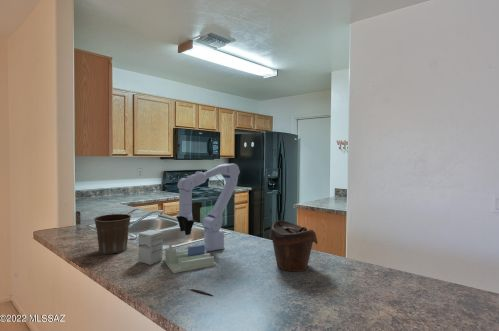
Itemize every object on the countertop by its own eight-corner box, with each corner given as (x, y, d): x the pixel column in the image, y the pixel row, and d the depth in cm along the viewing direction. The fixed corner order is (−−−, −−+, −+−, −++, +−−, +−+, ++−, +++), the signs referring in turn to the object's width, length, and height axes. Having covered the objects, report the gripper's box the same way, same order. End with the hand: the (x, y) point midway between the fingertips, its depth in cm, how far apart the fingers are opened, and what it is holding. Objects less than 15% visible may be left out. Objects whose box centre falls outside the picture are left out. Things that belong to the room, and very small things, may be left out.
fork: (210, 299, 93) (210, 292, 93) (173, 288, 100) (173, 282, 100) (215, 295, 95) (215, 289, 95) (178, 285, 103) (178, 279, 103)
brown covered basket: (318, 276, 110) (318, 229, 110) (266, 272, 114) (266, 227, 114) (316, 261, 128) (317, 220, 128) (271, 258, 132) (272, 218, 132)
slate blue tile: (203, 257, 128) (203, 244, 127) (204, 258, 126) (204, 245, 126) (187, 260, 124) (187, 246, 124) (188, 261, 123) (189, 247, 123)
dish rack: (202, 254, 135) (202, 236, 135) (216, 265, 121) (216, 245, 121) (163, 260, 126) (163, 241, 126) (173, 273, 112) (173, 251, 112)
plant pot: (121, 256, 131) (121, 221, 130) (86, 255, 131) (86, 220, 131) (136, 245, 147) (136, 214, 146) (105, 245, 147) (105, 213, 147)
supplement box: (137, 262, 124) (137, 232, 124) (151, 257, 130) (151, 229, 130) (150, 265, 120) (150, 235, 120) (163, 259, 127) (163, 231, 127)
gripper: (172, 202, 139) (172, 230, 139) (181, 206, 126) (181, 237, 127) (187, 201, 142) (186, 228, 143) (197, 205, 130) (196, 235, 130)
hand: (185, 232), depth 135 cm, fingers open, 7 cm apart
